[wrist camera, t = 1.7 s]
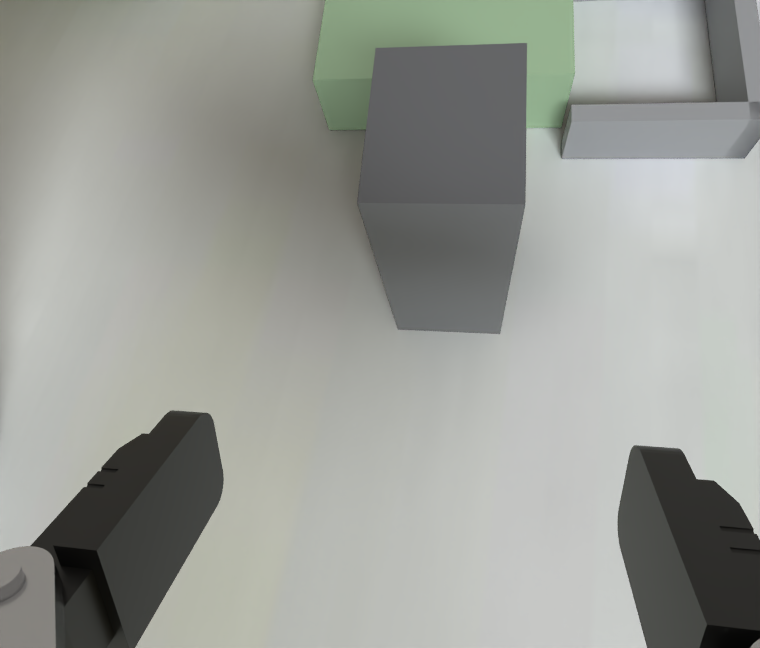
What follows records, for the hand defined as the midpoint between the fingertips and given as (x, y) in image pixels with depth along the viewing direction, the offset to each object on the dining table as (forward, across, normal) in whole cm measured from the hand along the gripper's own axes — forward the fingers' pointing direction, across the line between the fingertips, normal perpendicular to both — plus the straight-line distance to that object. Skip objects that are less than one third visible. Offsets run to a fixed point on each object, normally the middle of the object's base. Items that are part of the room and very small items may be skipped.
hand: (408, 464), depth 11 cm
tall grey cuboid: (+19, 0, +3) cm, 19 cm away
